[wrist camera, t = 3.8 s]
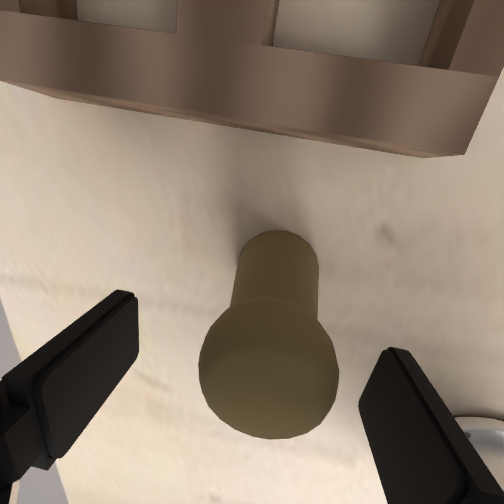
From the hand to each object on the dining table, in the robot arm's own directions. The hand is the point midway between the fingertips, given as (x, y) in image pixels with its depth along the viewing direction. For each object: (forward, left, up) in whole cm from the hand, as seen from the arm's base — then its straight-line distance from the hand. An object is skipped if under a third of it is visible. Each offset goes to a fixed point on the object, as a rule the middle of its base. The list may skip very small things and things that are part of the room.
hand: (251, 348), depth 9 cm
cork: (-1, +1, -9) cm, 9 cm away
